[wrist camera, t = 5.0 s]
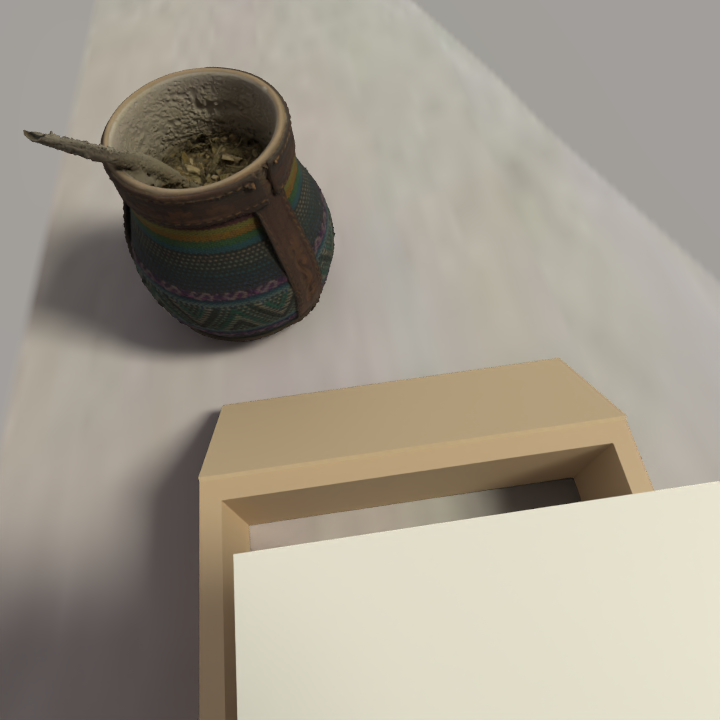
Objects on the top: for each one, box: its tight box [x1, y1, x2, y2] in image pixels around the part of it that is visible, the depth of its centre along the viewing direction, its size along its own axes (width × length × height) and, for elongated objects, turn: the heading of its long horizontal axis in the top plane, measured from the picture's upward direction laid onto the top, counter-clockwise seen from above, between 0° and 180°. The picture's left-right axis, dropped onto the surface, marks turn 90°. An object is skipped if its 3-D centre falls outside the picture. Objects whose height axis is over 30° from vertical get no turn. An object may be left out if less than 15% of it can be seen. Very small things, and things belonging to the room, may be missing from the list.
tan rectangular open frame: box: [198, 358, 654, 720], centre depth 14 cm, size 19×12×4 cm, turn 8°
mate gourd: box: [24, 67, 335, 341], centre depth 18 cm, size 7×8×10 cm
